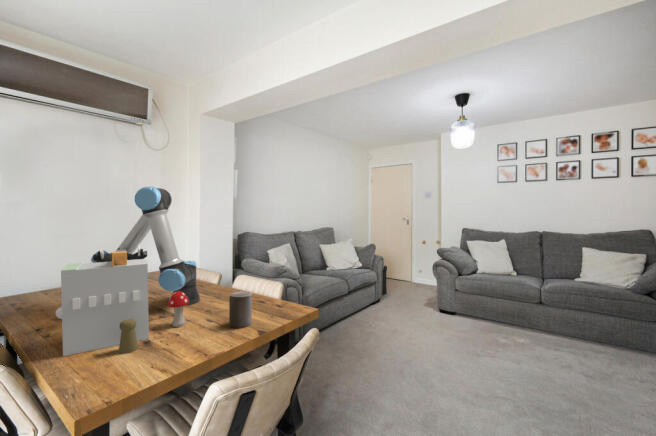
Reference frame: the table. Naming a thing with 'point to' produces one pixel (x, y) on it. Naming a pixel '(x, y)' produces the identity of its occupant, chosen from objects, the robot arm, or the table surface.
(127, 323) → the cork
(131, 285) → the breaker panel
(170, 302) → the decorative mushroom
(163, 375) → the table surface
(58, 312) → the smoothie
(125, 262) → the handle
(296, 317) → the table surface
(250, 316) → the pillar candle
